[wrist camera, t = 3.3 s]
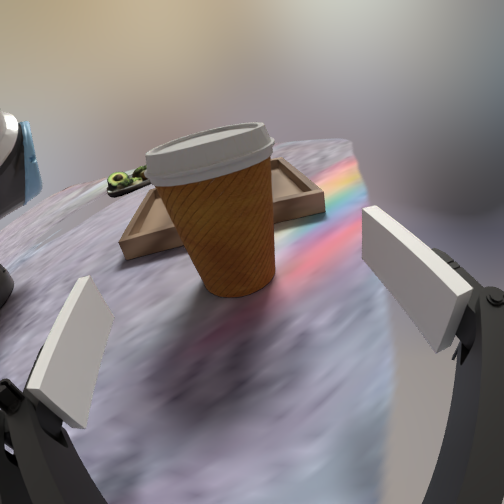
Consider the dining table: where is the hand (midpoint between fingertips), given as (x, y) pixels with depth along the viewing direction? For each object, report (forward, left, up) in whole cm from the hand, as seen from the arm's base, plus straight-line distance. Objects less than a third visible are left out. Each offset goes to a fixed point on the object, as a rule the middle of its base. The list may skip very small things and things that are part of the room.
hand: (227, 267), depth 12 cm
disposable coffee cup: (0, +10, -7) cm, 12 cm away
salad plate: (-23, +61, -8) cm, 65 cm away
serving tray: (-1, +28, -7) cm, 29 cm away
